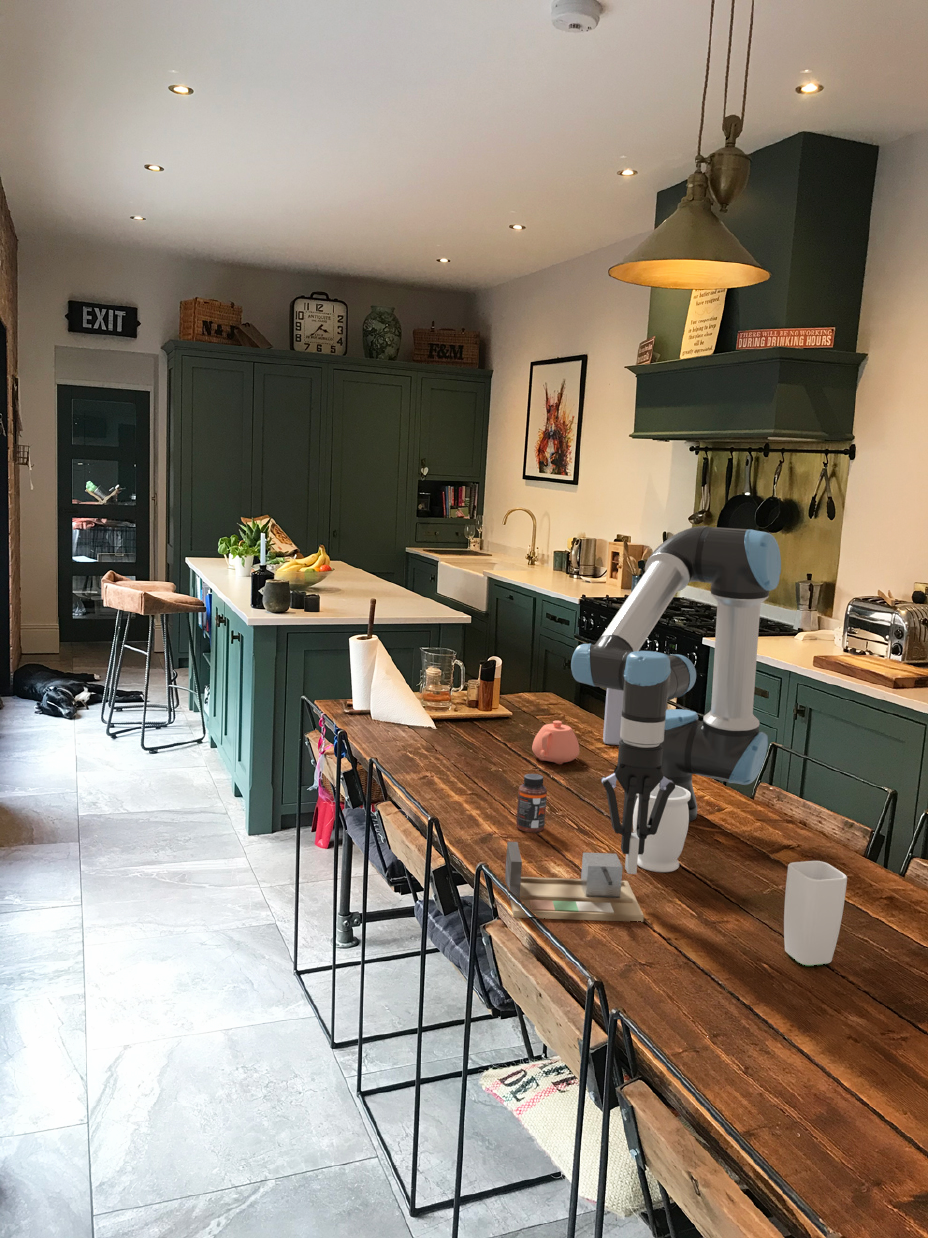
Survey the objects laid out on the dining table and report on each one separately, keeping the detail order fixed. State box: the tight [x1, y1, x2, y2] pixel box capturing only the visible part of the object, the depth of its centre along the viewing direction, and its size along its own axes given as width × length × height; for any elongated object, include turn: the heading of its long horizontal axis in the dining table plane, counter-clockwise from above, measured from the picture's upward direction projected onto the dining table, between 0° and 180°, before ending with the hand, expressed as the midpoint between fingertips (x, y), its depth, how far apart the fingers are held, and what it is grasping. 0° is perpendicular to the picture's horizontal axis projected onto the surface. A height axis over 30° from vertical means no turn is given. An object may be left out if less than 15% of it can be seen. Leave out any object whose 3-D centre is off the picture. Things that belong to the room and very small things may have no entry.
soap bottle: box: [602, 688, 623, 746], centre depth 277 cm, size 9×9×25 cm
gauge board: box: [504, 841, 645, 923], centre depth 173 cm, size 22×14×8 cm, turn 92°
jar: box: [632, 783, 691, 873], centre depth 191 cm, size 11×10×15 cm
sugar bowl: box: [531, 720, 580, 765], centre depth 257 cm, size 12×14×10 cm
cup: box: [783, 860, 848, 967], centre depth 157 cm, size 7×7×15 cm
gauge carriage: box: [580, 851, 624, 898], centre depth 172 cm, size 6×11×6 cm, turn 2°
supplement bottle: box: [515, 773, 548, 833], centre depth 208 cm, size 6×6×11 cm
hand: (630, 870), depth 175 cm, fingers closed
